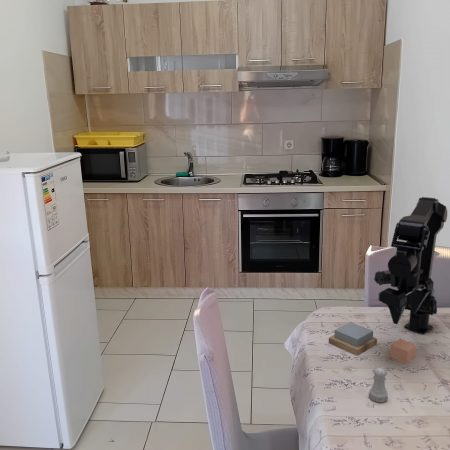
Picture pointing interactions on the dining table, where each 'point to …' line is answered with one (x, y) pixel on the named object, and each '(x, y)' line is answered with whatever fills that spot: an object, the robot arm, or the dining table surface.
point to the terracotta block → (403, 351)
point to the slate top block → (353, 334)
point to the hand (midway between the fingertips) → (404, 318)
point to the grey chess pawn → (379, 385)
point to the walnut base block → (350, 347)
